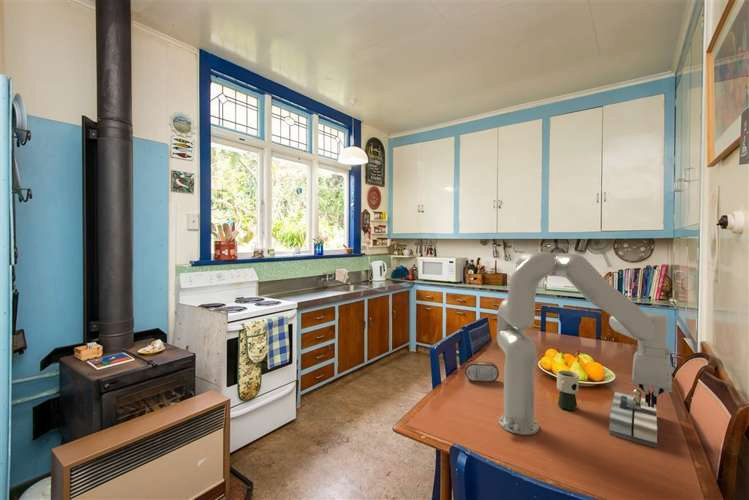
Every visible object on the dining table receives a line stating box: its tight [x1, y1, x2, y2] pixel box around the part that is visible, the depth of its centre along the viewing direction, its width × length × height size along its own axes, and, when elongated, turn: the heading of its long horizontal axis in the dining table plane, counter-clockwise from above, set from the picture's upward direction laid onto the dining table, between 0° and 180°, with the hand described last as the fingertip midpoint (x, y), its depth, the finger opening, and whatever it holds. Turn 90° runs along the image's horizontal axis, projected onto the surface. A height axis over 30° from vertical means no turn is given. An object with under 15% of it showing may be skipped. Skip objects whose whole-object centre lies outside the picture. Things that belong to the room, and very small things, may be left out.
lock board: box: [608, 391, 658, 449], centre depth 119 cm, size 24×12×8 cm, turn 142°
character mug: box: [556, 369, 580, 411], centre depth 132 cm, size 11×7×13 cm, turn 133°
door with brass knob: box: [626, 388, 643, 410], centre depth 120 cm, size 2×6×6 cm, turn 52°
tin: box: [463, 361, 500, 383], centre depth 157 cm, size 15×3×8 cm, turn 84°
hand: (650, 405), depth 116 cm, fingers closed
